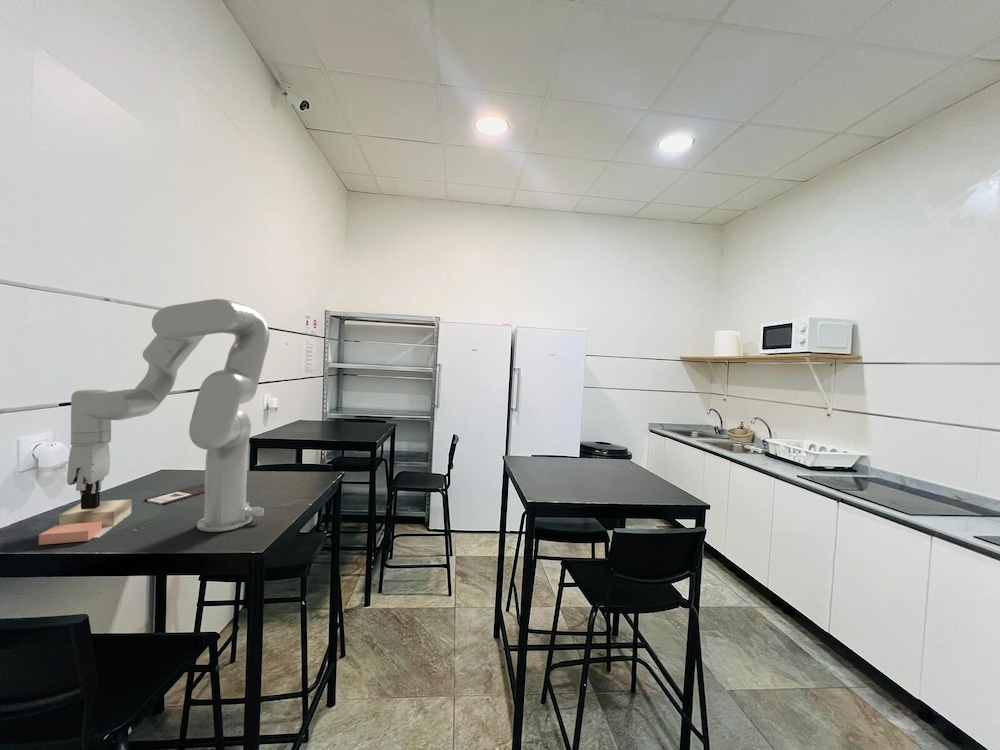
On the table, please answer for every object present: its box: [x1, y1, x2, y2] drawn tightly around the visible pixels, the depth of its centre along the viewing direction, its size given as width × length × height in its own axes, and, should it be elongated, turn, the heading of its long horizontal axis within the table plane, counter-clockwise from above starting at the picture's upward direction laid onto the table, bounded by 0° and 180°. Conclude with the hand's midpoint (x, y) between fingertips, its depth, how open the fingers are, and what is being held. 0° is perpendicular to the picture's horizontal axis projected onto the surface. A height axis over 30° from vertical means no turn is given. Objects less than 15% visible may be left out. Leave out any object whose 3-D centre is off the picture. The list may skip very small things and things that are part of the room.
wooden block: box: [58, 498, 133, 528], centre depth 114 cm, size 11×10×4 cm
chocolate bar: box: [143, 483, 205, 506], centre depth 138 cm, size 9×1×18 cm
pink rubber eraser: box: [38, 522, 102, 546], centre depth 103 cm, size 9×6×2 cm, turn 110°
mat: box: [90, 526, 114, 540], centre depth 105 cm, size 11×7×1 cm, turn 111°
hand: (90, 507), depth 110 cm, fingers closed
